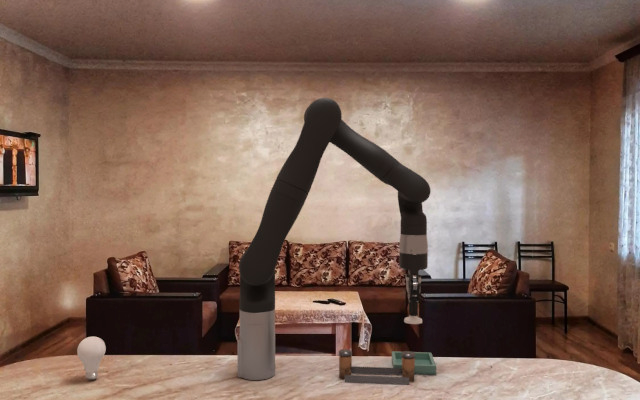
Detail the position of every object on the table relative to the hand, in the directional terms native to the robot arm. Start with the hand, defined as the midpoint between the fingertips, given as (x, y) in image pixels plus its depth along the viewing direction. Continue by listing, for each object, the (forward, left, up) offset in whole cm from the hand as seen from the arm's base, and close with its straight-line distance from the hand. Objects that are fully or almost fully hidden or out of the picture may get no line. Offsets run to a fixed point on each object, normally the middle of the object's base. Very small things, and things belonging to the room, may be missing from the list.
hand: (413, 314), depth 141 cm
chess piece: (0, 0, -2) cm, 2 cm away
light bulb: (-82, -17, -15) cm, 85 cm away
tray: (0, 0, -15) cm, 15 cm away
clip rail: (-10, -9, -15) cm, 20 cm away
